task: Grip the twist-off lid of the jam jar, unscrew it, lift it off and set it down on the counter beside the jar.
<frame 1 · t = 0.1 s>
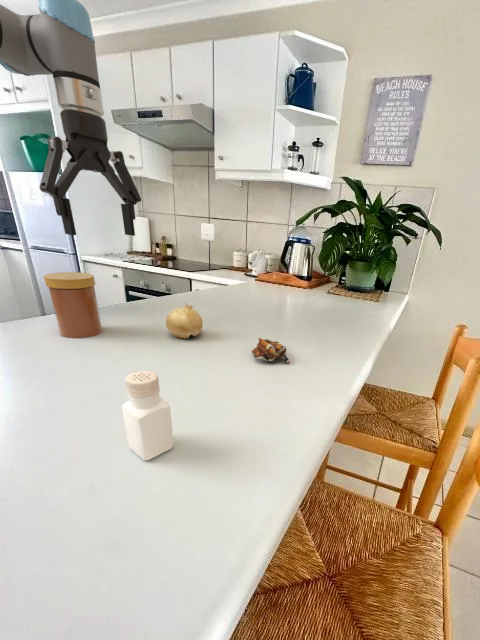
hand: (102, 235, 72), 19 cm above the countertop, tool pointing down, fingers open, 13 cm apart
jar: (81, 332, 71), on the countertop
brown lumpy piece: (267, 354, 68), on the countertop
onion: (185, 336, 74), on the countertop
salt shaker: (152, 449, 39), on the countertop
lid: (69, 277, 66), point 12 cm above the countertop, screwed on, not yet turned
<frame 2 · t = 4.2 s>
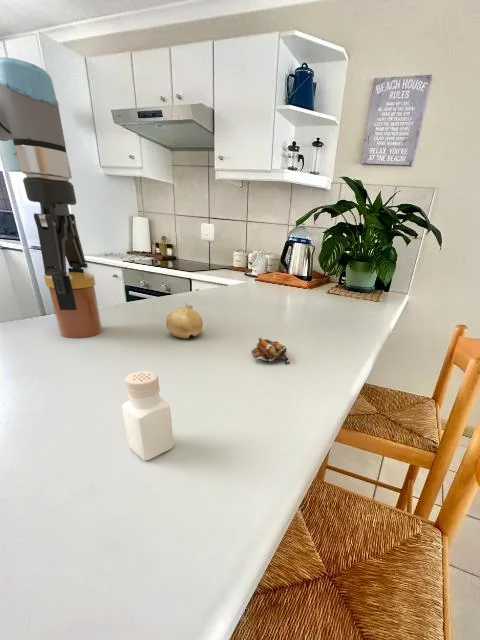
hand: (75, 303, 68), 6 cm above the countertop, tool pointing down, fingers closed on lid, 9 cm apart
lid: (69, 277, 66), point 12 cm above the countertop, screwed on, not yet turned, touching gripper
everything else where it was.
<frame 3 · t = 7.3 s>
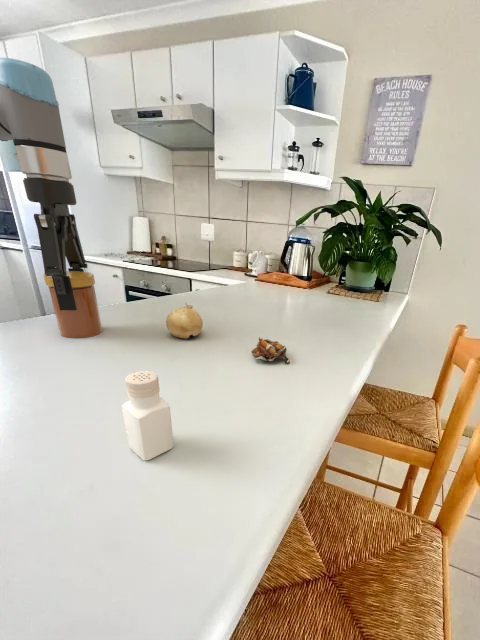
hand: (75, 304, 68), 6 cm above the countertop, tool pointing down, fingers closed on lid, 9 cm apart
lid: (69, 276, 66), point 12 cm above the countertop, turned 91° so far, risen 0.2 cm, still on its thread, touching gripper
everything else where it was.
when the fingers open (3 cm above the countertop, at t = 15.4 s): lid drops 7 cm, point 1 cm above the countertop.
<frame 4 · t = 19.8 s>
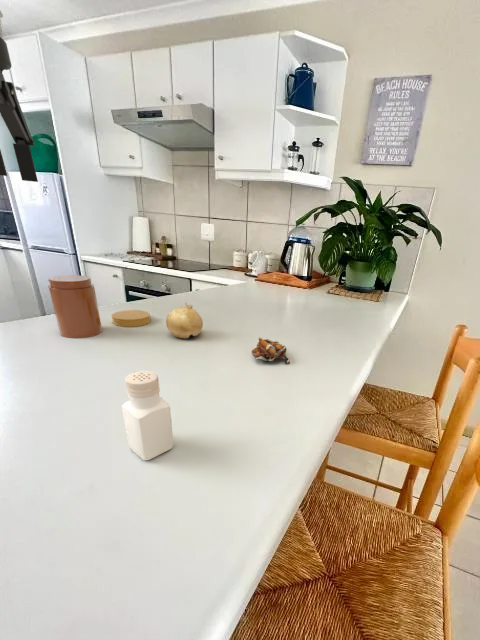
hand: (15, 178, 64), 29 cm above the countertop, tool pointing down, fingers open, 13 cm apart
lid: (131, 316, 80), point 1 cm above the countertop, off its thread
everything else where it was.
at the end: lid came off its thread; lid point 1.4 cm above the countertop; the gripper is holding nothing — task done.
